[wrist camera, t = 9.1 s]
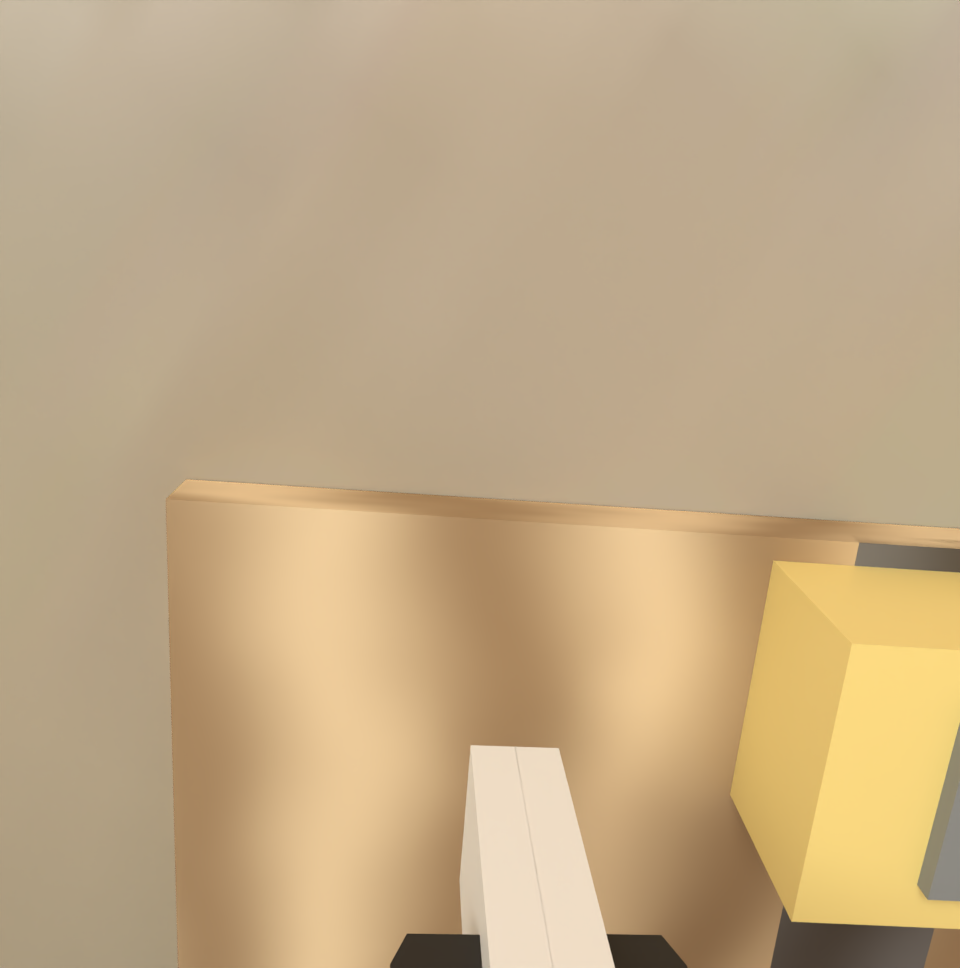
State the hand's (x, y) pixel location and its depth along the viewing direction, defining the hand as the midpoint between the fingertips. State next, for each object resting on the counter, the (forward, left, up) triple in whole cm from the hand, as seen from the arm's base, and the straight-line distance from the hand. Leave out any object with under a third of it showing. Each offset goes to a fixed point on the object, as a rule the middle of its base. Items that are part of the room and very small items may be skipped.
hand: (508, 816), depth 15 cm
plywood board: (+6, -4, -7) cm, 10 cm away
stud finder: (+9, 0, -5) cm, 10 cm away
